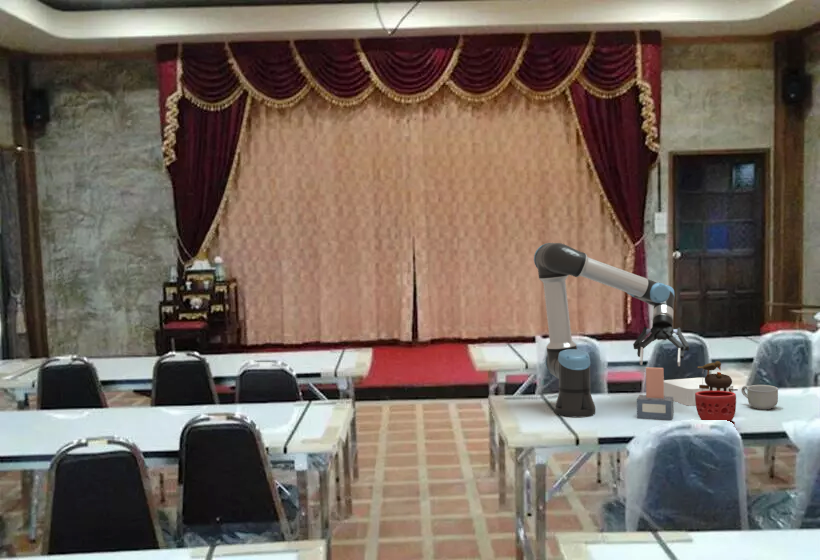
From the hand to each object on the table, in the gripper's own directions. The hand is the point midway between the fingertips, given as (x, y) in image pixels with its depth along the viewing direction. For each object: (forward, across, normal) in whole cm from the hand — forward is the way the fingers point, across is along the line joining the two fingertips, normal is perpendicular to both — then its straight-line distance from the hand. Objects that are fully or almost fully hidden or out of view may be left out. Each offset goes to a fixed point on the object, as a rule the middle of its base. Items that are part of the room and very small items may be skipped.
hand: (659, 363), depth 292 cm
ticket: (+18, +1, -6) cm, 18 cm away
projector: (-7, -12, -34) cm, 36 cm away
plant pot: (+26, -20, 0) cm, 33 cm away
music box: (+12, -20, -15) cm, 28 cm away
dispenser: (+19, +1, -7) cm, 20 cm away
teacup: (0, -34, -27) cm, 44 cm away
